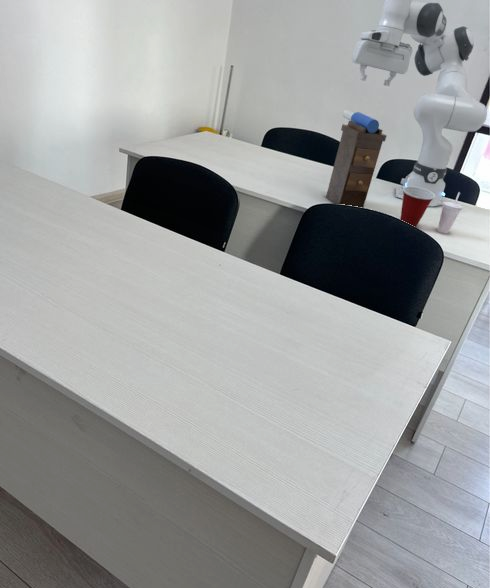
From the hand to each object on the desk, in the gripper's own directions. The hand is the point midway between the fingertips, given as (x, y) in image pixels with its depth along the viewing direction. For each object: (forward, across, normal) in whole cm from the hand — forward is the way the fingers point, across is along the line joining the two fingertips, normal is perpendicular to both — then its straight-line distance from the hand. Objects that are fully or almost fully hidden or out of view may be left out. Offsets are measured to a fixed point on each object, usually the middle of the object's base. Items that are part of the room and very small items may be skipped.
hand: (374, 83), depth 201 cm
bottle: (+15, +3, +2) cm, 15 cm away
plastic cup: (+42, -15, +24) cm, 51 cm away
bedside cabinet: (+41, +1, +5) cm, 41 cm away
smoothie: (+41, -26, +29) cm, 57 cm away
